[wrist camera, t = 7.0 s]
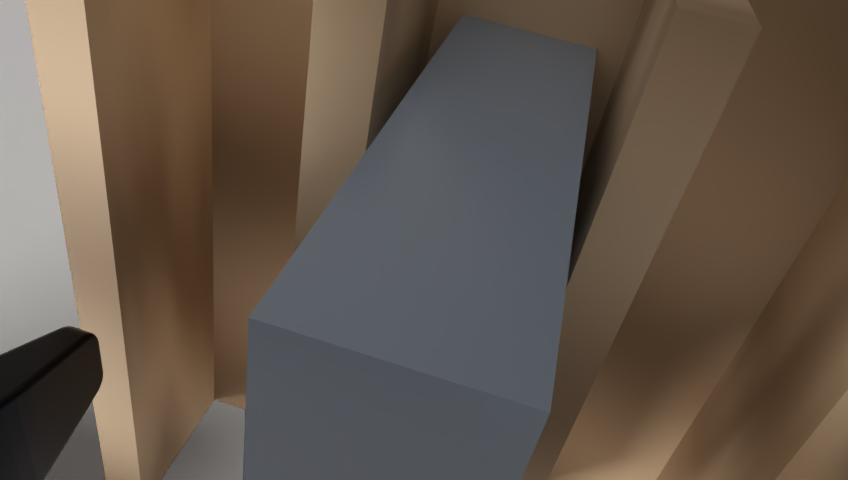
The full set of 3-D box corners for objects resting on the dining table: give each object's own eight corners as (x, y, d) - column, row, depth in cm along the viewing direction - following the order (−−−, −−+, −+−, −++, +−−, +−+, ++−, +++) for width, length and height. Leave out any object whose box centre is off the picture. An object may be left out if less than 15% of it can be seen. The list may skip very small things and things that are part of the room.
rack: (663, 517, 16) (671, 690, 13) (193, 364, 17) (99, 489, 14) (1006, 15, 9) (1193, 136, 6) (174, -185, 10) (-19, -169, 7)
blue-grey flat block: (465, 438, 15) (366, 831, 10) (379, 410, 15) (232, 778, 10) (597, 48, 10) (550, 413, 4) (462, 14, 10) (248, 317, 4)
